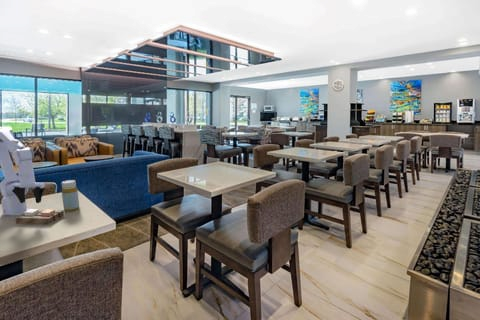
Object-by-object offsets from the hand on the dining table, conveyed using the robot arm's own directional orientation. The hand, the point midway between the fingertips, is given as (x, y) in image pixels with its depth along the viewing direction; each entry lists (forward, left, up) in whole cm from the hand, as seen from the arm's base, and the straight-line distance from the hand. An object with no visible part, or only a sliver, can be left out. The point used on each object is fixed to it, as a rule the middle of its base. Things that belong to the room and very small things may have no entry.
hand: (30, 202), depth 132 cm
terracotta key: (+8, 0, -7) cm, 10 cm away
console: (+4, 0, -9) cm, 9 cm away
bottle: (+10, +14, -9) cm, 19 cm away
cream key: (0, 0, -7) cm, 7 cm away
